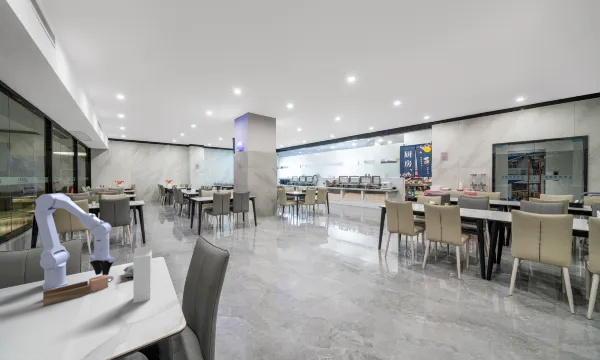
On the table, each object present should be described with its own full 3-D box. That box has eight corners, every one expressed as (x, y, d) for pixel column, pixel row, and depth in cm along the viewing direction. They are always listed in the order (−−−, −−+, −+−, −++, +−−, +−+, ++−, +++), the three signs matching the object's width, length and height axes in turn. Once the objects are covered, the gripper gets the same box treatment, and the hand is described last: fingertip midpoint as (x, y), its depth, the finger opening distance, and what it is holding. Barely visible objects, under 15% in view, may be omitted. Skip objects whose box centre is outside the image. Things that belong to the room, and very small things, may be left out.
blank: (89, 289, 110) (89, 278, 110) (105, 285, 115) (105, 274, 115) (91, 292, 108) (91, 281, 108) (108, 287, 112) (108, 276, 112)
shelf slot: (43, 299, 101) (43, 291, 101) (87, 288, 111) (87, 280, 111) (43, 306, 96) (43, 297, 96) (89, 293, 106) (89, 285, 106)
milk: (135, 297, 103) (135, 246, 103) (152, 294, 106) (151, 244, 106) (133, 303, 98) (132, 250, 98) (150, 300, 100) (150, 248, 100)
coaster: (88, 281, 119) (88, 279, 119) (111, 275, 125) (111, 274, 125) (91, 286, 113) (91, 285, 113) (115, 280, 119) (115, 279, 119)
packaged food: (122, 280, 118) (122, 270, 118) (123, 273, 128) (123, 264, 128) (143, 276, 123) (143, 267, 123) (143, 270, 133) (143, 261, 133)
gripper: (82, 248, 117) (82, 276, 117) (103, 251, 113) (103, 280, 113) (98, 244, 124) (98, 270, 124) (118, 247, 120) (118, 274, 120)
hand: (102, 274), depth 119 cm, fingers open, 4 cm apart
